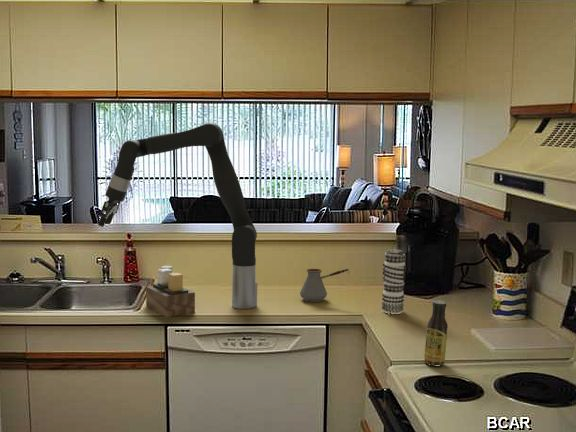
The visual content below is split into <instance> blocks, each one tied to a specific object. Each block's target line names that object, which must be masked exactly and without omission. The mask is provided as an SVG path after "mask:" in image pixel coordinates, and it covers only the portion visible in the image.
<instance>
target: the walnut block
mask: <svg viewBox="0 0 576 432" xmlns="http://www.w3.org/2000/svg"><path fill="white" fill-rule="evenodd" d="M145 293H146V294H145V299H146V300H145V303H146V304H145V306H147V308H149V309H150V310H152V311H154V312H155V313H157V314H160V315H161V316H163V317H166V318H170V317H176V316H182V315H183V316H184V315H189V314H190V315H191V314H195V313H196V292H195V291H193V290H191V289H189V288H185V287H183V290H180V291H170V290H168V286H164V287H162V286H160V285H158V282H156V283H152V285H150V286H145Z"/></svg>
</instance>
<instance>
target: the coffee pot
mask: <svg viewBox="0 0 576 432" xmlns="http://www.w3.org/2000/svg"><path fill="white" fill-rule="evenodd" d="M306 272H307V276H306V278H305V279H304V280H305V281H304V283H303V285H302V286H301V289H300V291H299V295H300V297H301V298H302V299H303V300H304V301H305V300H306V301H305V302H308V301H309V303H320V302H319V301H321V302H323V300H324V299H326V298H327V296H328V291H327V289H326V287H325V284H324V282H323V280H322V279H325V278H328V277H333V276H337V275H339V274H342V273H345V272H347V274H348V275H350V273H351V272H350V270H349V268H345V269H342V270H337V271H335V272H332V273H329V274H327V275H322V276H321V274H322V272H323V271H322V269H320V268H308V269H306Z"/></svg>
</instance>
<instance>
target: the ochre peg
mask: <svg viewBox="0 0 576 432" xmlns="http://www.w3.org/2000/svg"><path fill="white" fill-rule="evenodd" d="M183 277H184V276H183V274H182V273H179V272H173V273H171V274H168V290H170V291H180V290H183V285H184V284H183V282H184V281H183Z"/></svg>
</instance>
